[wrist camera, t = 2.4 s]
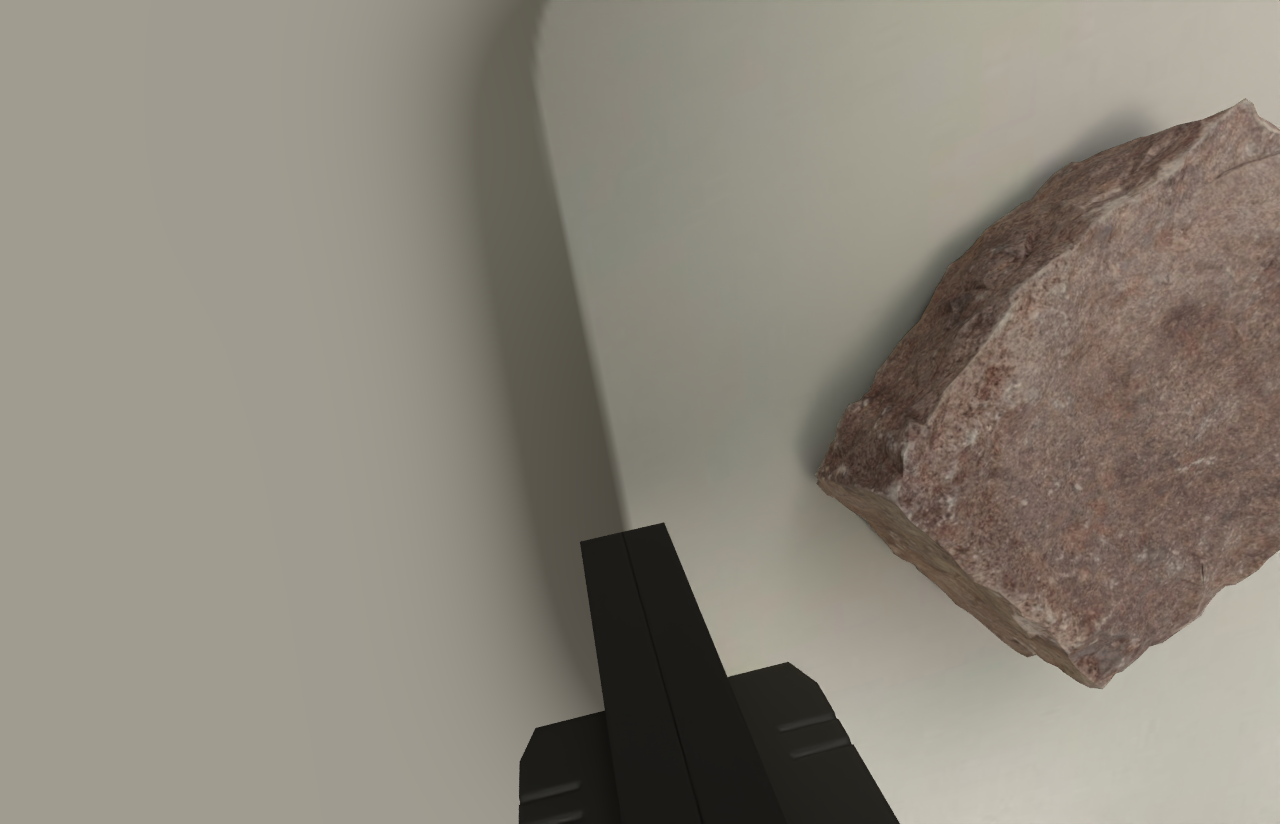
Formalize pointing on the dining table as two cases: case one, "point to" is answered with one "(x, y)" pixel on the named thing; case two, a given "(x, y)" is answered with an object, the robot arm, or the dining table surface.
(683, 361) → the dining table surface
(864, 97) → the dining table surface
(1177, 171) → the stone
